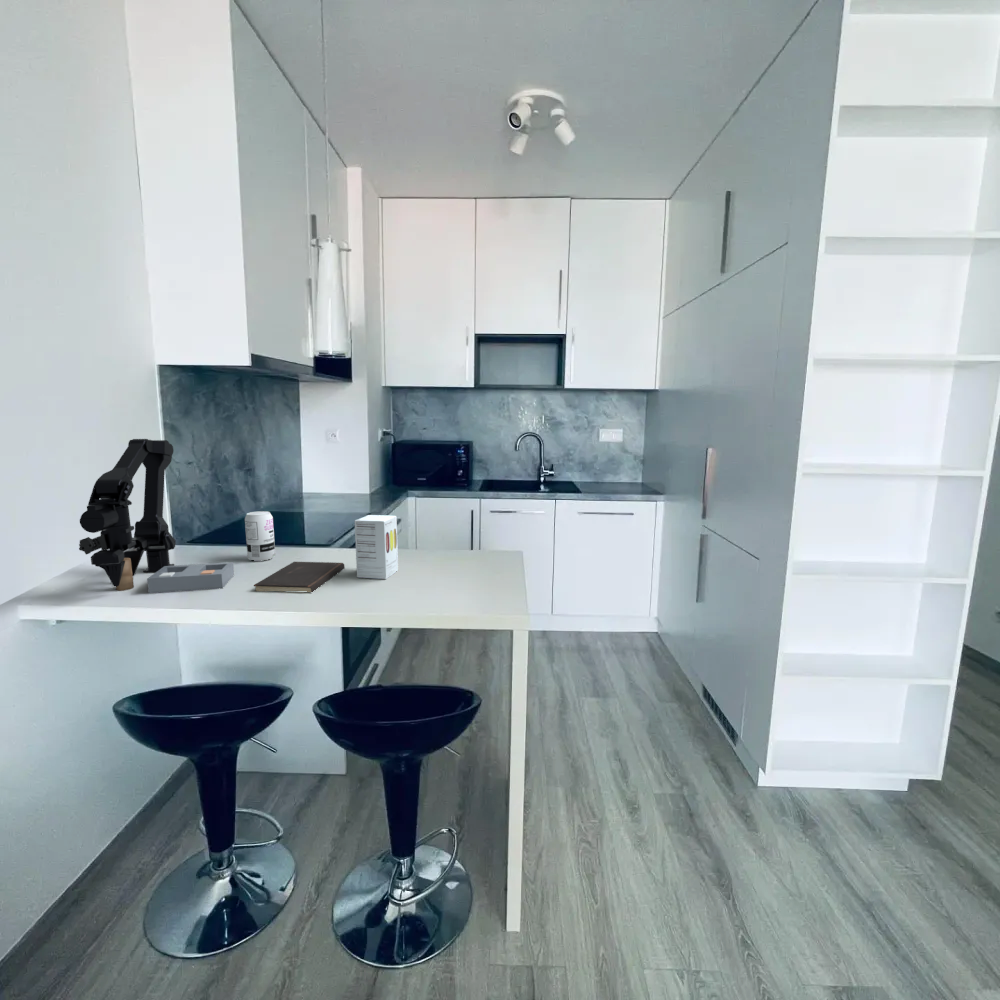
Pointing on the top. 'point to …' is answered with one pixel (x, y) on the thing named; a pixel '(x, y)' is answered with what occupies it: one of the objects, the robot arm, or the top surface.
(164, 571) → the socket block
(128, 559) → the walnut peg
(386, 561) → the supplement box
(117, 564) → the robot arm
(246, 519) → the supplement can
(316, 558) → the top surface
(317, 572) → the hardcover book
